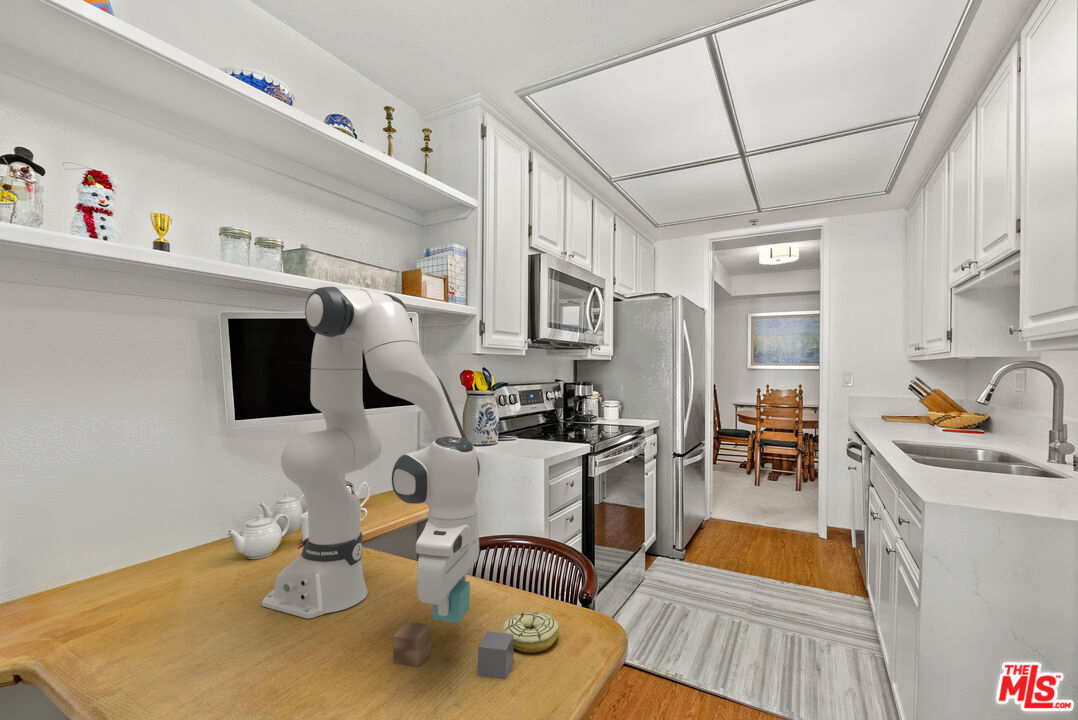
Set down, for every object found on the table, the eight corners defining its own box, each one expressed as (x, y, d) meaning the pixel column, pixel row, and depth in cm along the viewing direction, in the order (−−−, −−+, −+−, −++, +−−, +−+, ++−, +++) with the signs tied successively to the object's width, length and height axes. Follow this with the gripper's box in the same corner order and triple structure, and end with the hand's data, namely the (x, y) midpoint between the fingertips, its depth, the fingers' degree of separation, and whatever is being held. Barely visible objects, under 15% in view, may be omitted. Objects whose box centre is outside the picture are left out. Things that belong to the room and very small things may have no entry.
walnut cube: (393, 664, 87) (393, 636, 87) (406, 648, 92) (406, 621, 92) (419, 667, 86) (419, 639, 86) (431, 651, 90) (431, 624, 91)
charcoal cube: (478, 675, 83) (478, 646, 83) (486, 658, 88) (487, 631, 88) (505, 679, 82) (505, 650, 82) (513, 662, 87) (513, 634, 87)
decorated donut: (518, 621, 101) (518, 603, 101) (566, 633, 97) (566, 614, 97) (493, 647, 92) (493, 627, 92) (544, 662, 87) (544, 641, 87)
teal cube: (432, 619, 85) (433, 590, 85) (444, 605, 90) (444, 578, 90) (459, 622, 84) (459, 594, 84) (469, 608, 89) (469, 581, 89)
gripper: (457, 509, 98) (456, 577, 98) (410, 547, 78) (409, 632, 78) (487, 512, 97) (486, 581, 97) (447, 551, 77) (445, 638, 77)
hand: (451, 604), depth 87 cm, fingers closed on teal cube, 5 cm apart
